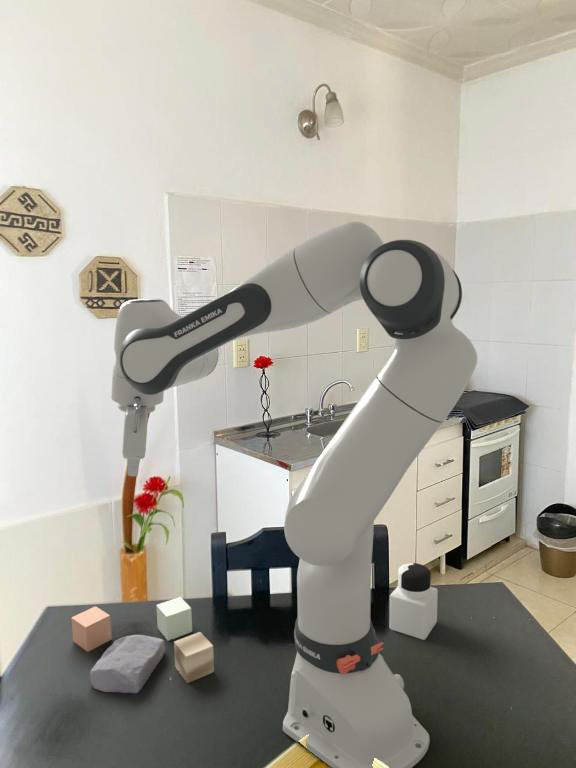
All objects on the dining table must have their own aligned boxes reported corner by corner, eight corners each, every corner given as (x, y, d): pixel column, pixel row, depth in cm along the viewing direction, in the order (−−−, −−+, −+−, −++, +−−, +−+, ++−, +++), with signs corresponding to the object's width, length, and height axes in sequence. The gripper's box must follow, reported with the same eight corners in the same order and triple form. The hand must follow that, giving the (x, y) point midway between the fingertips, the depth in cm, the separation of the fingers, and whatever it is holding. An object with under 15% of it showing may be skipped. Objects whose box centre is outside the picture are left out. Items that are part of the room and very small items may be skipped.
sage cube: (192, 631, 111) (191, 608, 110) (167, 641, 108) (166, 616, 107) (181, 619, 115) (180, 596, 114) (157, 628, 112) (156, 604, 111)
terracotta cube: (111, 639, 109) (109, 615, 108) (87, 652, 105) (85, 627, 104) (97, 629, 112) (95, 606, 111) (73, 642, 108) (71, 617, 107)
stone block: (87, 700, 95) (142, 696, 93) (80, 673, 95) (135, 668, 93) (121, 658, 107) (171, 653, 105) (115, 634, 107) (164, 628, 104)
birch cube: (214, 672, 99) (213, 645, 98) (187, 683, 96) (185, 656, 95) (201, 657, 103) (200, 631, 102) (175, 667, 100) (173, 641, 100)
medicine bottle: (437, 622, 112) (438, 564, 110) (425, 641, 106) (426, 580, 104) (402, 611, 116) (403, 556, 114) (388, 629, 110) (389, 571, 108)
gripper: (157, 407, 92) (151, 488, 95) (155, 378, 111) (150, 446, 114) (116, 405, 90) (111, 487, 93) (121, 376, 110) (117, 444, 113)
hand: (133, 464), depth 104 cm, fingers open, 8 cm apart
